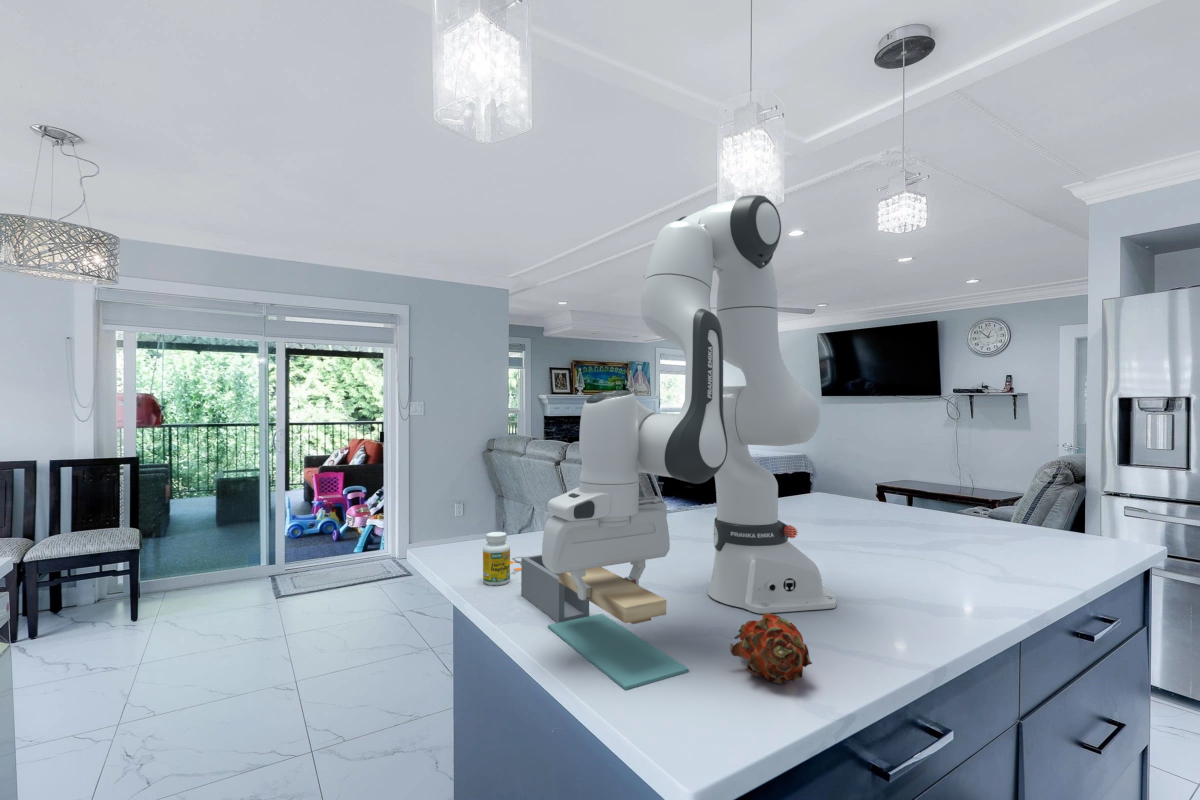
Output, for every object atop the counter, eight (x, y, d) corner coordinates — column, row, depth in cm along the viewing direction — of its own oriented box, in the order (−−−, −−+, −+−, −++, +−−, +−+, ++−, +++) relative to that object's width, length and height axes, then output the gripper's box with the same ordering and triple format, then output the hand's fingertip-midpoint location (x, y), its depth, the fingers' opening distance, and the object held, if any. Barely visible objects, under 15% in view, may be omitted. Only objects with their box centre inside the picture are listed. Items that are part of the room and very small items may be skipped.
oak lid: (666, 620, 78) (666, 599, 78) (625, 629, 74) (625, 607, 74) (594, 580, 95) (594, 563, 95) (558, 586, 92) (558, 569, 92)
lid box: (589, 617, 96) (589, 575, 96) (558, 623, 93) (558, 580, 93) (548, 590, 109) (548, 553, 109) (521, 595, 107) (521, 557, 107)
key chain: (498, 560, 131) (498, 557, 131) (529, 557, 134) (529, 554, 134) (508, 576, 119) (508, 572, 119) (543, 573, 122) (543, 569, 122)
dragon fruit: (798, 714, 69) (743, 683, 80) (840, 662, 72) (781, 639, 83) (757, 659, 68) (707, 636, 79) (801, 609, 71) (747, 593, 82)
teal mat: (688, 671, 76) (688, 668, 76) (625, 690, 71) (625, 686, 71) (602, 616, 96) (602, 613, 96) (547, 627, 91) (547, 624, 91)
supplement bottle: (503, 576, 118) (503, 529, 118) (514, 583, 114) (514, 534, 114) (478, 580, 115) (478, 532, 115) (489, 587, 111) (489, 538, 111)
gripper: (654, 492, 93) (654, 578, 93) (537, 502, 82) (537, 599, 82) (678, 497, 87) (678, 589, 87) (556, 509, 77) (556, 613, 77)
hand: (608, 594), depth 85 cm, fingers closed on oak lid, 7 cm apart
